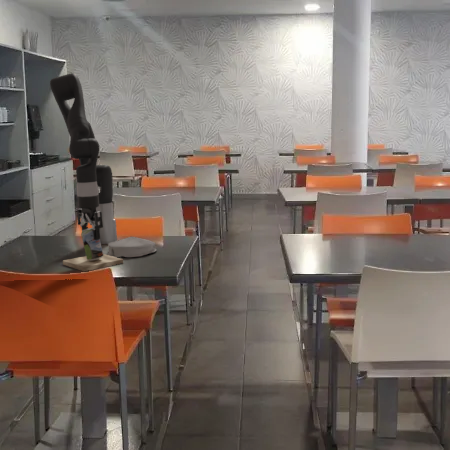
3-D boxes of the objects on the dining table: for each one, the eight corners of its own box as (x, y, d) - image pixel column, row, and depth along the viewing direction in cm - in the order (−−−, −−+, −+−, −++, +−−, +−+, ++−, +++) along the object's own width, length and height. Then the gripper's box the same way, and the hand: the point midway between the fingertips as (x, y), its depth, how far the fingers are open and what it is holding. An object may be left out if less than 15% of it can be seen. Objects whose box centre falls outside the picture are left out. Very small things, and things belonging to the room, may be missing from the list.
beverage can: (99, 261, 229) (96, 229, 227) (80, 262, 230) (77, 229, 228) (106, 257, 235) (103, 226, 233) (87, 258, 236) (84, 226, 234)
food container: (96, 255, 251) (95, 238, 249) (135, 245, 265) (134, 229, 264) (128, 262, 237) (127, 244, 236) (167, 251, 251) (166, 234, 250)
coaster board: (101, 256, 244) (100, 253, 244) (123, 263, 232) (123, 259, 232) (63, 264, 234) (62, 260, 234) (84, 271, 222) (83, 267, 222)
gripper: (107, 194, 226) (110, 239, 229) (87, 191, 237) (90, 234, 239) (88, 196, 221) (91, 242, 224) (69, 194, 232) (72, 237, 235)
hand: (91, 238), depth 232 cm, fingers open, 8 cm apart
